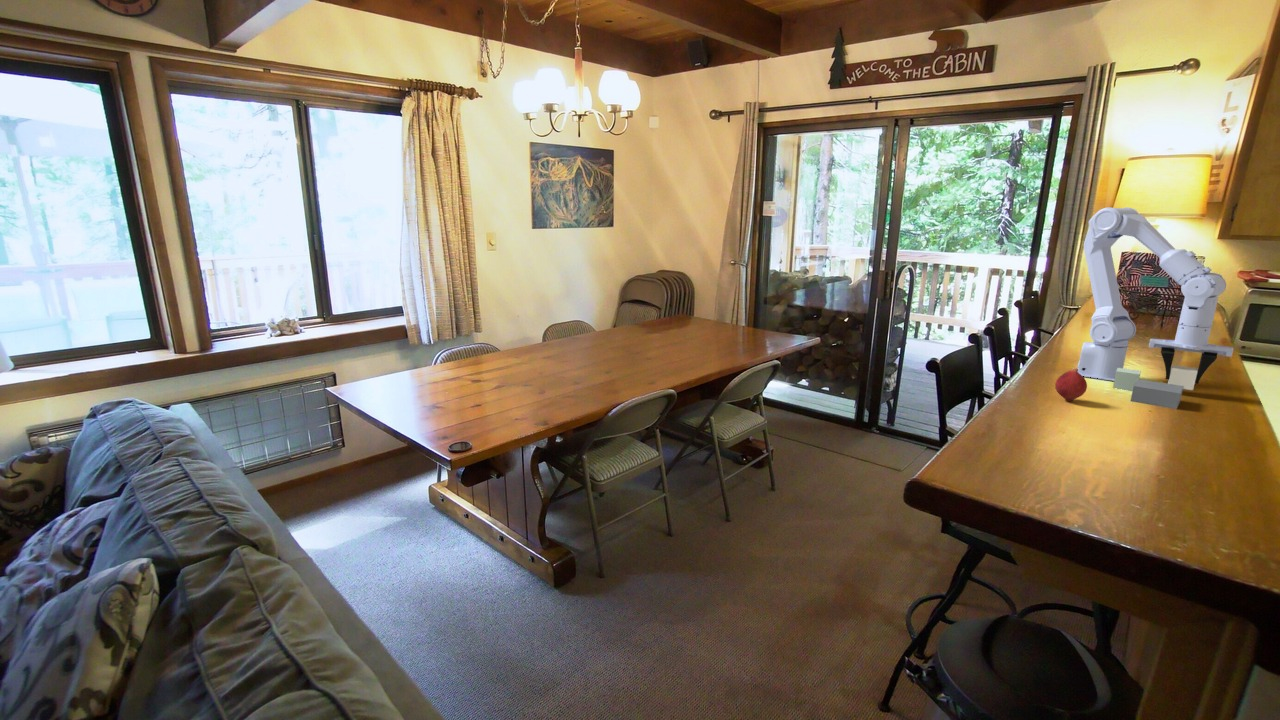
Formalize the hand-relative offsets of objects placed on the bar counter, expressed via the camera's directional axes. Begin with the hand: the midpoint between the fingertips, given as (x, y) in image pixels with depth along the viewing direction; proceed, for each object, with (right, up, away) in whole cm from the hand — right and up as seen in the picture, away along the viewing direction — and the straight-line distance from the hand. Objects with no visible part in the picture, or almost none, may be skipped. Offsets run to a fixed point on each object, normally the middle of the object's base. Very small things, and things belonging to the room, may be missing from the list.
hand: (1181, 380), depth 139 cm
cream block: (0, -1, 0) cm, 1 cm away
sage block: (-9, -2, +5) cm, 11 cm away
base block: (-11, -5, -5) cm, 13 cm away
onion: (-31, -5, -5) cm, 32 cm away
